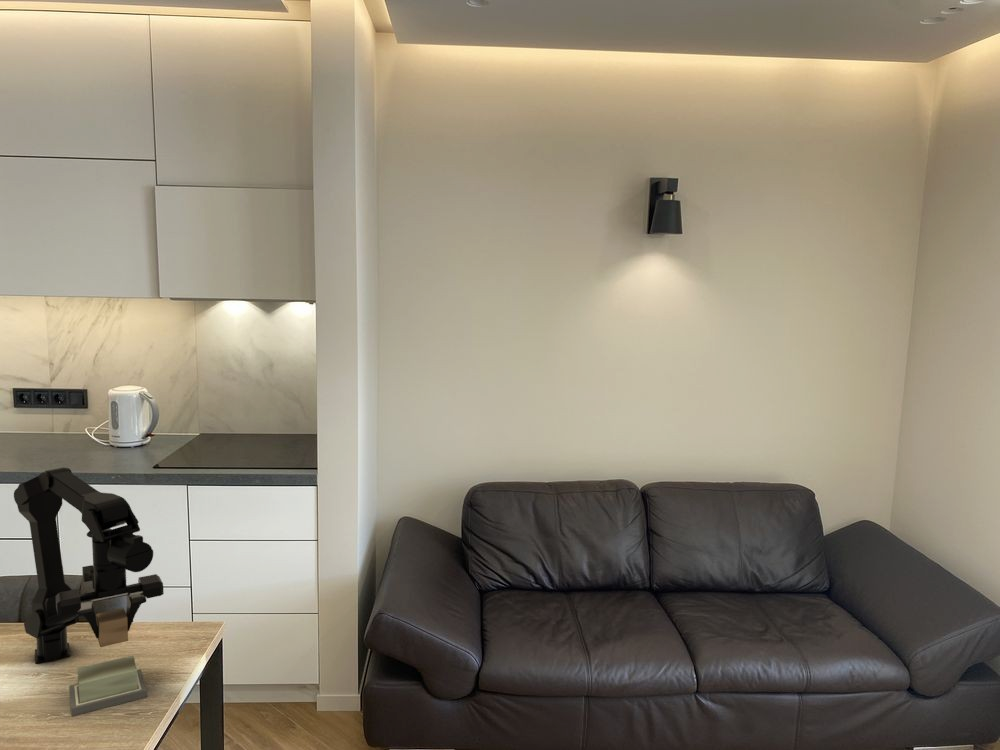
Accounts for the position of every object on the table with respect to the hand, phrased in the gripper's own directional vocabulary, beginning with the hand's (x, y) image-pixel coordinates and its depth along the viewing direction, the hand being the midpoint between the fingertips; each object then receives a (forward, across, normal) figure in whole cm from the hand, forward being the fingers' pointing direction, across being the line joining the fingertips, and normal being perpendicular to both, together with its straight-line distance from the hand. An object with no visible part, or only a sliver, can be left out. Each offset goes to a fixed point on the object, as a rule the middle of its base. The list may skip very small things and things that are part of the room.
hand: (112, 634), depth 145 cm
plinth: (+12, +2, +2) cm, 12 cm away
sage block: (+10, +1, +2) cm, 10 cm away
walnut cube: (+1, 0, 0) cm, 1 cm away
